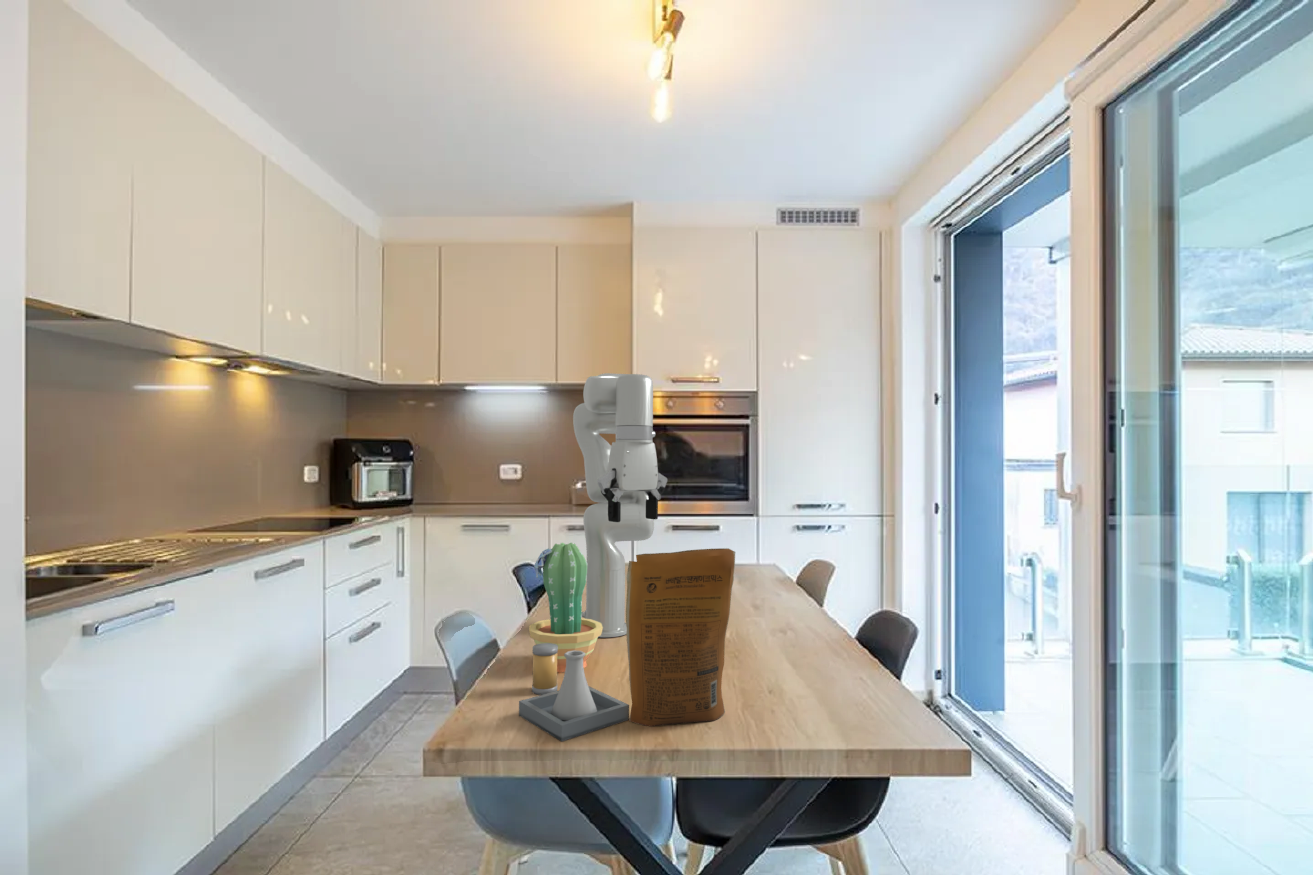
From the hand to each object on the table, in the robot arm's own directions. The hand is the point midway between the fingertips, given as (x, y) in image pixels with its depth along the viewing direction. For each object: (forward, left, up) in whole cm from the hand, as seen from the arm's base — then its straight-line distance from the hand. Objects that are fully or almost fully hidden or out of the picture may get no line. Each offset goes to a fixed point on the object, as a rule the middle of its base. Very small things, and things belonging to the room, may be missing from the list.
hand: (633, 520), depth 132 cm
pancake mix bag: (+24, -9, -31) cm, 40 cm away
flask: (+12, -22, -30) cm, 39 cm away
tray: (+12, -22, -30) cm, 39 cm away
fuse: (-2, -19, -30) cm, 36 cm away
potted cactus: (-12, -8, -31) cm, 34 cm away
